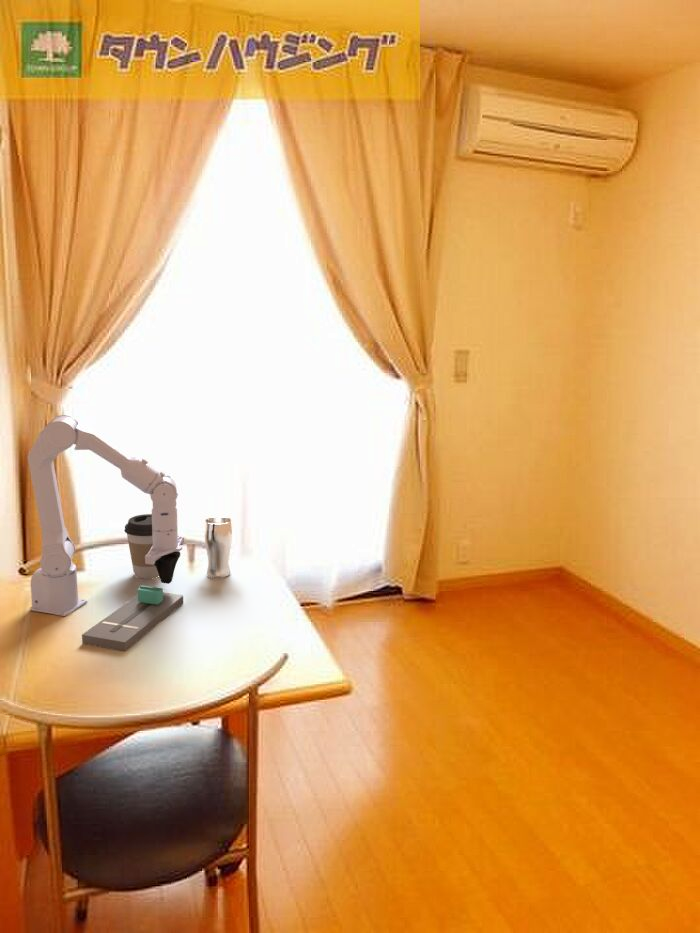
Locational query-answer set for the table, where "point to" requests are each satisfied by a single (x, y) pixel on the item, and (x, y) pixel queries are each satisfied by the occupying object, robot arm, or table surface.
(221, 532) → the beer glass
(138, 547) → the coffee cup
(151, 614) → the fader console
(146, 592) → the fader tab
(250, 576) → the table surface
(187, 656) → the table surface
